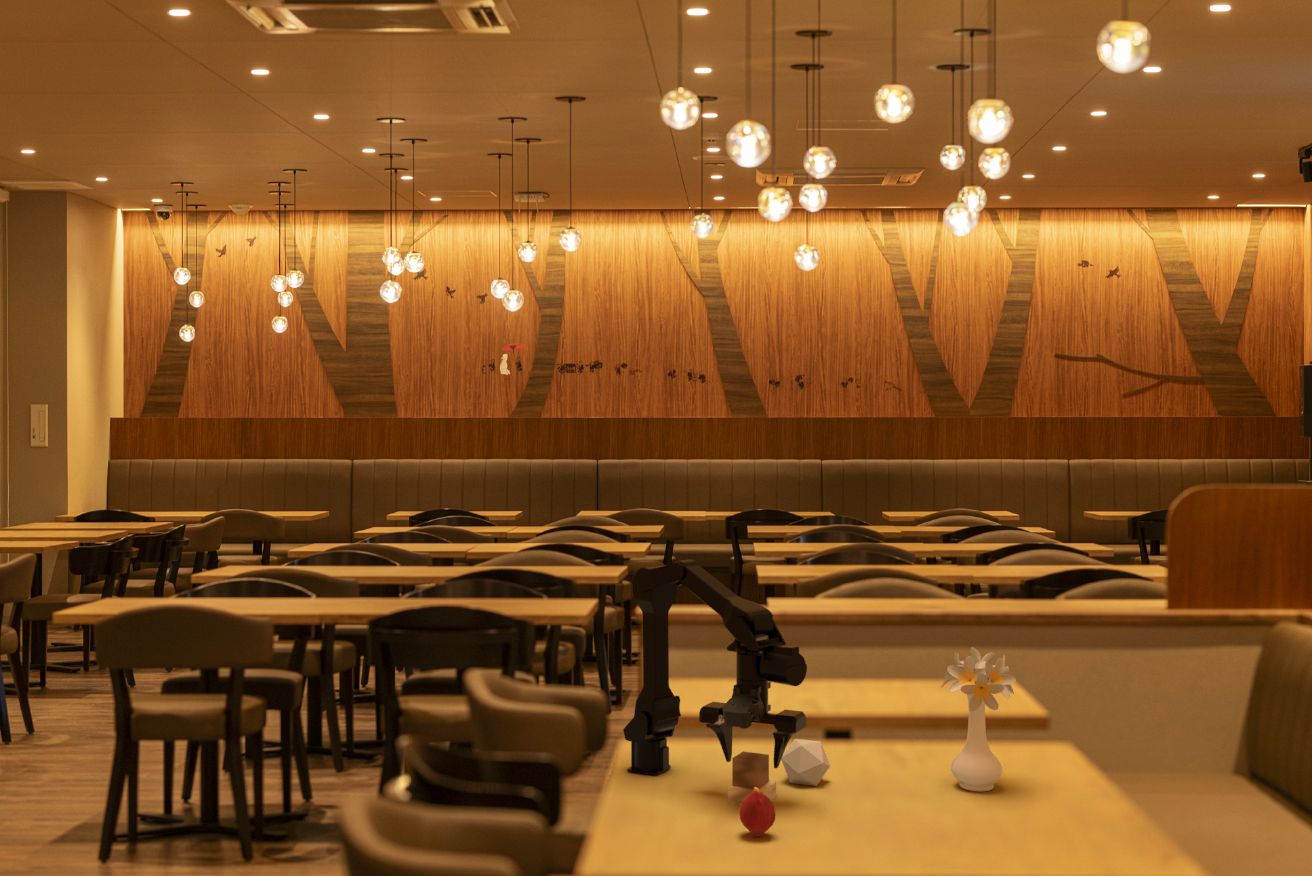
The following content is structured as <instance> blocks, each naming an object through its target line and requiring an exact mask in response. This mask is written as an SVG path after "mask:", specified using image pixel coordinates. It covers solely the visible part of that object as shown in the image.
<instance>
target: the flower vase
mask: <svg viewBox="0 0 1312 876" xmlns="http://www.w3.org/2000/svg"><path fill="white" fill-rule="evenodd" d="M969 651H970V655H968V656H966V657H965V659H964V660H960V652H958V653H957V652H955V654H954V656H953V659H952V665H949V666H947V667H946V668H947V669H946V670H947V671H946V672H945V674H944V676H943V677H944V678H945V681H944V682H943V683H942V685H941V686H940V688H943V687H944V686H946V685H947V684H948V683H950V682H951V681H952V683H951V684H950V685H949V687H948V690H949V692H950V693H957V692H958V691H961V692H962V693H963V694H965V695H966V696H967V702H968V703H967V704H968V723H967V735H966V740H965V743H964V746H963V748H962V749H961V751H960V752H958V753H957V754H956V755H955V756H954V758H953V759H952V762H951V763H950V772H951V774H952V775H953V777H954V778H955V779H956V780H957V781H959V783H958V784H959V787H960V788H961V789H964V790H967V791H969V792H978V793H979V792H980V793H981V792H988V791H992V790H993V789H994V787H995V783H997V782H998V781H999V780H1000V779H1001V777H1002V775H1003V773H1004V772H1003V766H1002V763H1001V762H1000V760H999V758H998V757H997V756H996V755H995V754H994V753H993V752H992V750H991V748H990V746H989V743H988V739H987V731H986V729H987V728H986V707H987V708H988V709H990V710H993V711H997V710H998V709H999V703H998V701H997V699H996V698H995V697H994V695H997V694H998V695H999V694H1000V693H1001V695H1003V696H1004V697H1005V698H1006V699H1010V698H1011V695H1013V694H1015V693H1014V689H1013V687H1012V685H1014V684H1016V682H1017V680H1016V677H1015V676H1014V675H1012V674H1011V673H1010V668H1009V666H1008V665H1007V666H1005V665H1006V657H1005V655H1003V656H1002V657H999V658H998V659H997V655H996V653H995V652H988V653H986V654H985V655H983V657H982V655H981V653H980V652H979V650H978V649H976V648H975V647H972V646H971V647H970V648H969ZM995 661H996V662H995ZM994 663H995V664H994ZM955 679H956V680H955ZM953 680H954V681H953Z"/></svg>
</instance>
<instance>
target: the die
mask: <svg viewBox="0 0 1312 876" xmlns="http://www.w3.org/2000/svg"><path fill="white" fill-rule="evenodd" d="M781 762H782V765H783V768H784V770H785V773H786V775H787V778H788V780H789V784H795V785H803V786H813V787H817V786H818V784H819V783H820V782H821V780H822V779H823V777H824V776H825V774H826V773H827V771H828V770H829V769H830V767H831V765H830V762H829V759H828V757H827V753H826V752H825V748H824V746H823V744H822V741H820V740H812V739H811V740H810V739H802V738H794V740H793V741H792V742H791V744H790V745H789V746H788V748H787V749H786V750H785V751H784V753H783V756H782V759H781Z"/></svg>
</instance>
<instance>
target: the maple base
mask: <svg viewBox="0 0 1312 876" xmlns="http://www.w3.org/2000/svg"><path fill="white" fill-rule="evenodd" d="M753 790H754V789H752V788H745V787H738V786H732V783H731V784H730V785H729V786H728V787H727V803H734V804H740V805H741V804H742V803H743V801H744V800H745V799H746V798H747V797H748V796H749V795H750V794H752V793H753ZM759 791H761V792H762V793H763V794H764V795H765V796H767V797H768V798H769V799H770V801H771V802H772V800H773V799H774V798H776V796H777V781H776V780H770V779H769V782H768V783H767V784H765V785H764V786H763V787H761V788H760V789H759Z"/></svg>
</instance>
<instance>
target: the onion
mask: <svg viewBox="0 0 1312 876" xmlns="http://www.w3.org/2000/svg"><path fill="white" fill-rule="evenodd" d="M753 789H754V790H753V793H752V794H750V795H749V796H748V797H747V798H746V799H745V800H744V801H743V803H742V804H741V803H740V807H739V813H738V814H739V819H740V821H741V824H742V825H743V827H745V828H746V829H747V830H748V832H750V834H752V836H753V837H757V838H758V837H760V836H761V835H763V834H764V833H766V832H767V831H768V830H769V829H770V828H771V827H773V826H774V823H775V821H776V814H777V813H776V809H775V806H774V804H773V802H772V800H771V801H770V799H769V798H768V797H767V796H765V795H764V794H763V793H762V792H761V791H759V789H758V788H757V787H754V788H753Z"/></svg>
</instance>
